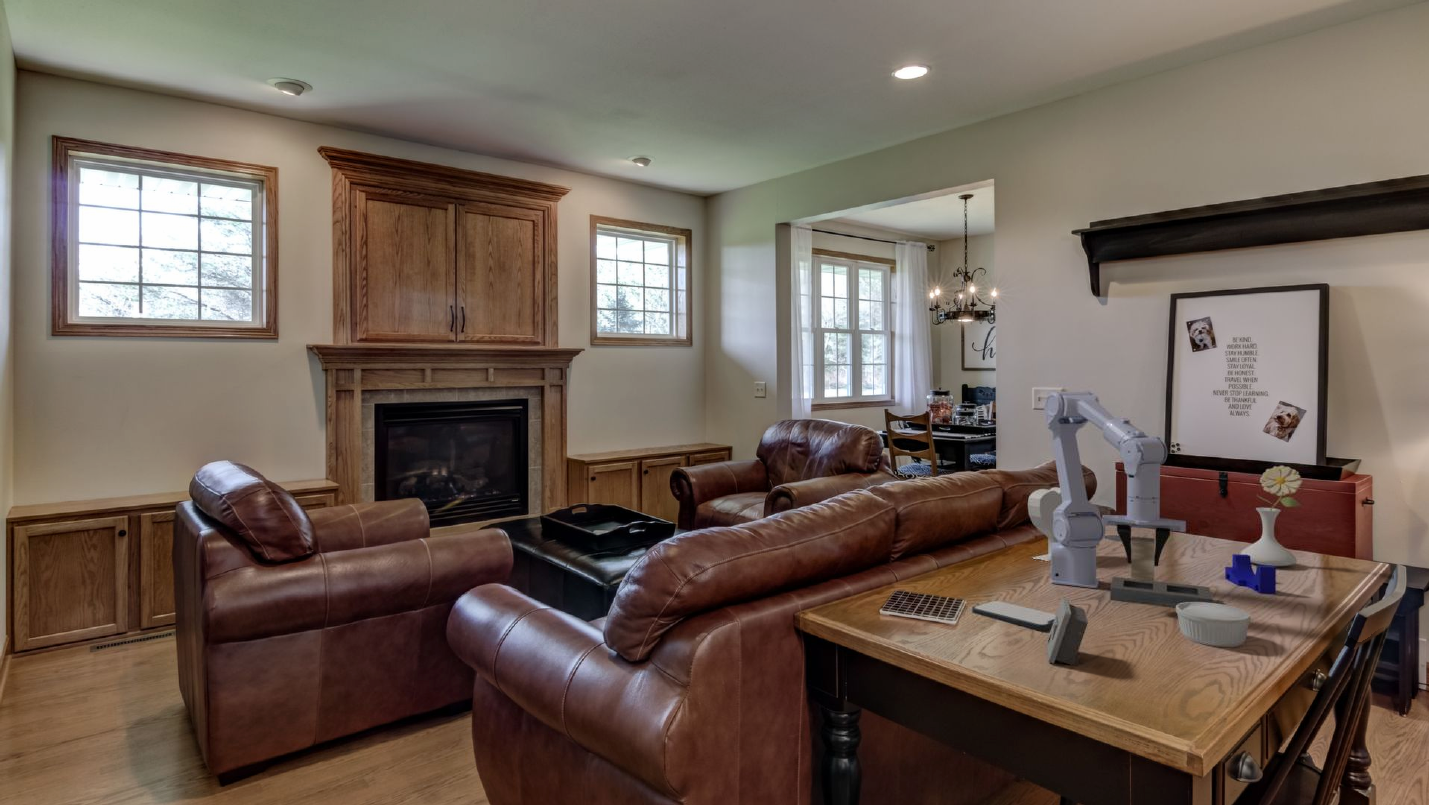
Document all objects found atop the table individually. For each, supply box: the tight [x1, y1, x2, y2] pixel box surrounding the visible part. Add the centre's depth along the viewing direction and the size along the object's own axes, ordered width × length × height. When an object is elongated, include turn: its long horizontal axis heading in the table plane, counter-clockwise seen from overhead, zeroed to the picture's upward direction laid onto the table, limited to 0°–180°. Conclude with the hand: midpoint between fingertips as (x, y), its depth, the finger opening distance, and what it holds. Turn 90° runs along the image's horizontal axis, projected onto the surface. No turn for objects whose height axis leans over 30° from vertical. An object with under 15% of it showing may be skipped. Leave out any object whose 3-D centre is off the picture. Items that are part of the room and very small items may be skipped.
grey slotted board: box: [1110, 576, 1213, 608], centre depth 158 cm, size 18×10×2 cm, turn 59°
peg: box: [1130, 536, 1156, 582], centre depth 150 cm, size 4×4×8 cm
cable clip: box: [1224, 553, 1277, 595], centre depth 167 cm, size 12×4×6 cm, turn 169°
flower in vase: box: [1240, 465, 1303, 567], centre depth 185 cm, size 13×11×25 cm
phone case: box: [971, 600, 1056, 633], centre depth 147 cm, size 9×2×16 cm
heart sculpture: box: [1027, 486, 1077, 561], centre depth 196 cm, size 16×5×18 cm, turn 119°
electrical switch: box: [1046, 597, 1089, 666], centre depth 126 cm, size 9×5×9 cm, turn 158°
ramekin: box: [1175, 602, 1251, 648], centre depth 134 cm, size 11×11×5 cm
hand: (1142, 563), depth 151 cm, fingers closed on peg, 4 cm apart
